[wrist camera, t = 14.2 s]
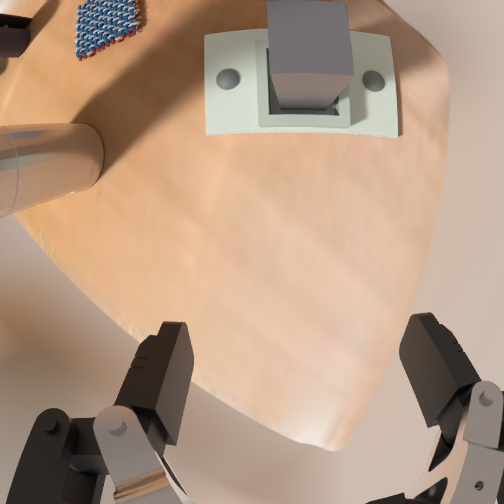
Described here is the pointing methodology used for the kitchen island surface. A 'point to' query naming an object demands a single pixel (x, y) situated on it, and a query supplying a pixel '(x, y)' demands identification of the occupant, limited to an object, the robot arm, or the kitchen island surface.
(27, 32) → the speaker
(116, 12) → the woven mat
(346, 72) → the tall grey pillar
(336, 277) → the kitchen island surface
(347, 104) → the bracket
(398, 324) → the kitchen island surface
